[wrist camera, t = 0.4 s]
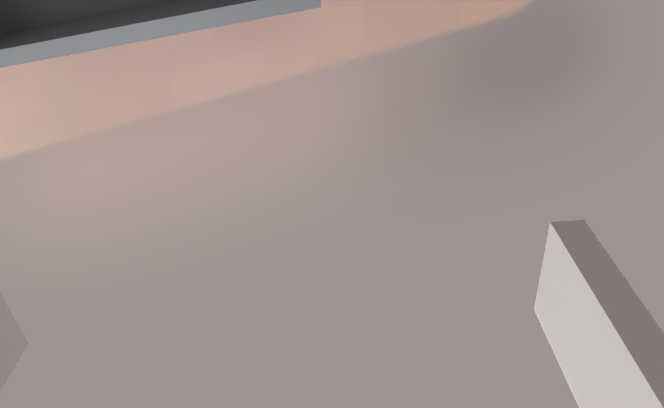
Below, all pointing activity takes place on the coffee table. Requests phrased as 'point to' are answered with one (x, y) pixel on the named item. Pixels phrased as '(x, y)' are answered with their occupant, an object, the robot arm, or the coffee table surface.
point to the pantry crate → (116, 22)
